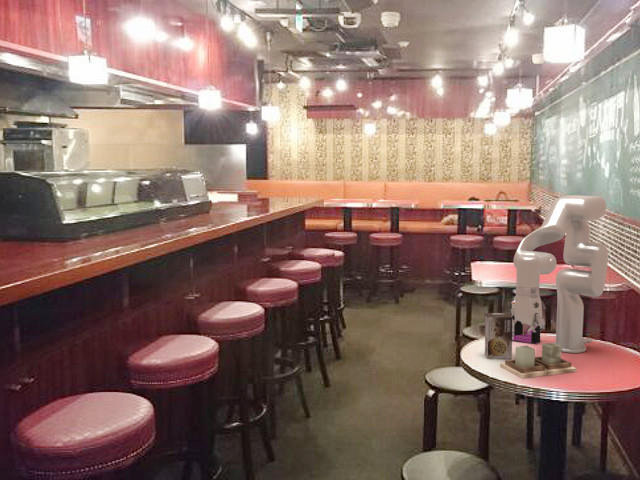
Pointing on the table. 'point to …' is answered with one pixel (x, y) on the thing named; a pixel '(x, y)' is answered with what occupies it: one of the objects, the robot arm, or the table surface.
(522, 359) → the sage block
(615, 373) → the table surface
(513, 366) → the socket base
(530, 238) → the robot arm
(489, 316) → the cookie box
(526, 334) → the candy bar box
